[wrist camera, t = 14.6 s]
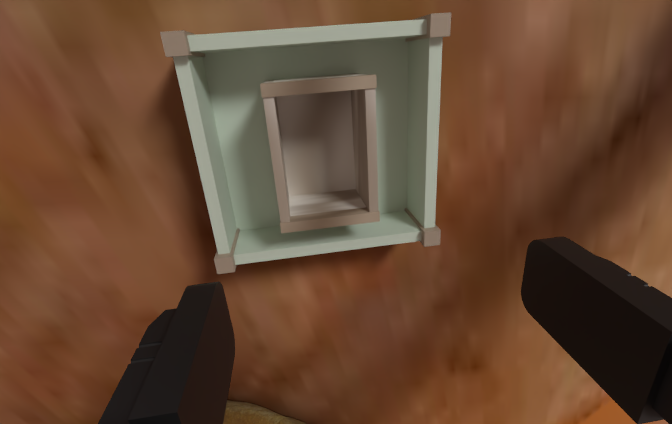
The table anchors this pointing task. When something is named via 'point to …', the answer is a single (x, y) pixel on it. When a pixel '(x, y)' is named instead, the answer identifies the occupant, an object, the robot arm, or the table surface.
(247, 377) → the table surface
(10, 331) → the table surface
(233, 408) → the bread
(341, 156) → the small crate
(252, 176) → the large crate
